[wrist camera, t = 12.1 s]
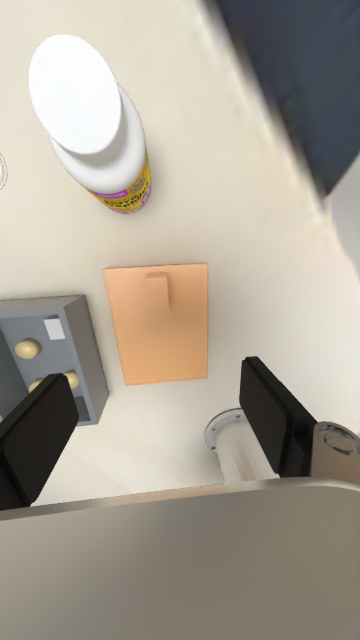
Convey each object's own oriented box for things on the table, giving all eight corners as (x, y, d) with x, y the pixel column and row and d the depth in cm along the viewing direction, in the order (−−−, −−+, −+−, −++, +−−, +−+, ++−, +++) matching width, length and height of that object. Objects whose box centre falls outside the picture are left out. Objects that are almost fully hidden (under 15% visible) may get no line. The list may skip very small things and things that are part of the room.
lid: (204, 370, 33) (214, 400, 26) (127, 377, 32) (118, 410, 25) (204, 262, 26) (218, 266, 20) (107, 268, 25) (88, 274, 19)
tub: (109, 394, 32) (97, 424, 27) (32, 401, 32) (4, 434, 26) (84, 294, 26) (63, 306, 20) (-13, 301, 25) (-63, 315, 19)
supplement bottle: (112, 223, 23) (57, 194, 11) (82, 162, 21) (-30, 40, 9) (161, 201, 23) (158, 145, 11) (136, 136, 20) (97, -31, 8)
